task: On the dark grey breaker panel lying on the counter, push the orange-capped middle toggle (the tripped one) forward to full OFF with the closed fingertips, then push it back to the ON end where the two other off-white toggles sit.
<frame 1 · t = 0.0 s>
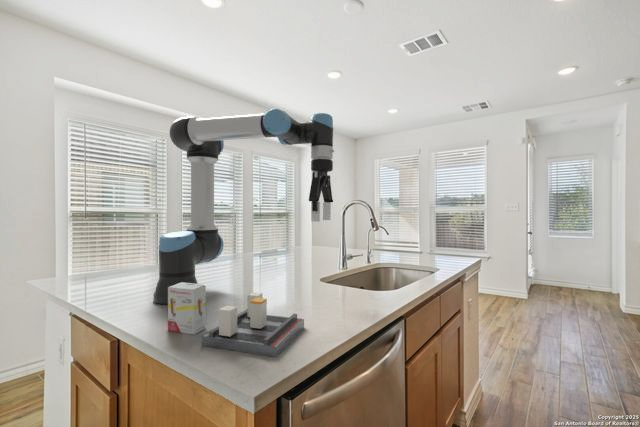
hand: (321, 220, 111), 28 cm above the worktop, fingers open, 13 cm apart
breaker c: (255, 304, 87), point 6 cm above the worktop, slide at 0.0 cm
breaker a: (228, 320, 75), point 6 cm above the worktop, slide at 0.0 cm
panel: (256, 335, 80), on the worktop
ink box: (186, 330, 84), on the worktop
breaker b: (258, 312, 80), point 6 cm above the worktop, slide at 4.5 cm
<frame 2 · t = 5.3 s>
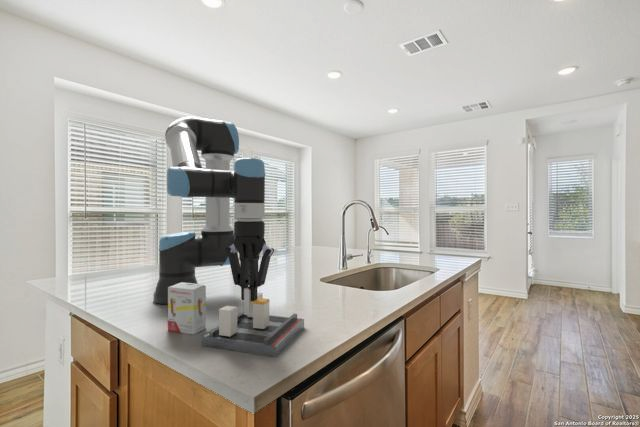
hand: (249, 313, 80), 6 cm above the worktop, fingers closed
breaker b: (261, 313, 80), point 6 cm above the worktop, slide at 5.3 cm, touching gripper
everything else where it was.
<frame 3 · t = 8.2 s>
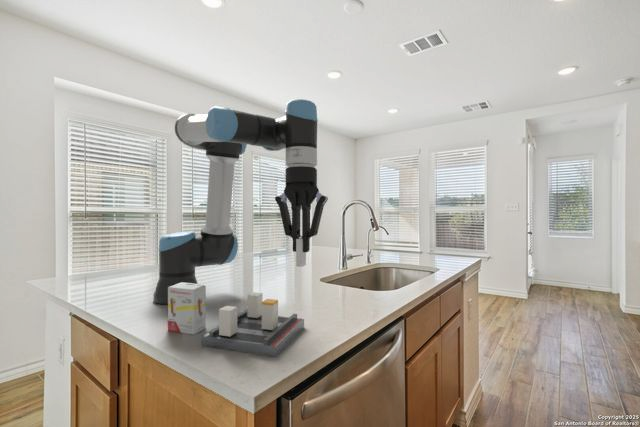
hand: (301, 265, 76), 19 cm above the worktop, fingers closed
breaker b: (269, 314, 79), point 6 cm above the worktop, slide at 7.7 cm
everything else where it was.
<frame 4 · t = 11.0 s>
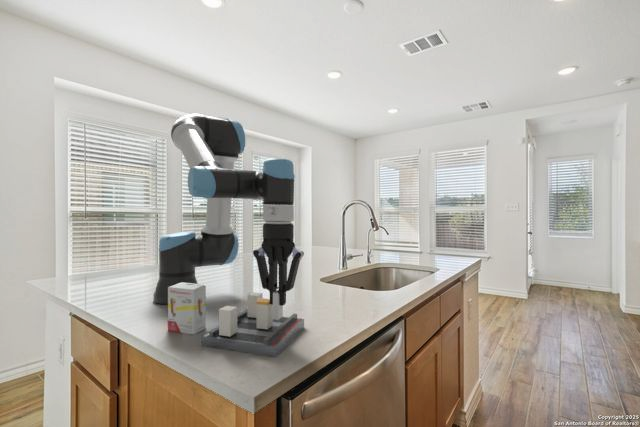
hand: (277, 317, 78), 5 cm above the worktop, fingers closed
breaker b: (264, 313, 79), point 6 cm above the worktop, slide at 6.2 cm, touching gripper
everything else where it was.
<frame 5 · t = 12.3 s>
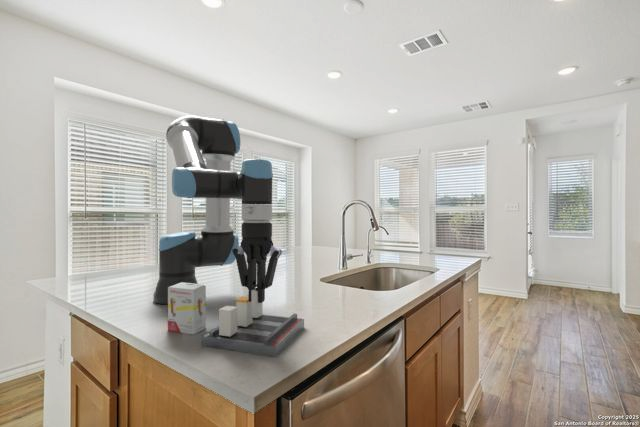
hand: (256, 314, 80), 5 cm above the worktop, fingers closed
breaker b: (244, 311, 81), point 6 cm above the worktop, slide at 0.5 cm, touching gripper
everything else where it was.
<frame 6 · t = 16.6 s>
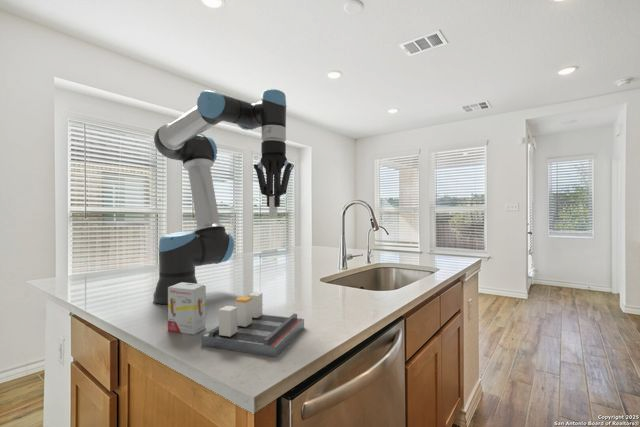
hand: (273, 217, 99), 29 cm above the worktop, fingers closed
breaker b: (243, 311, 81), point 6 cm above the worktop, slide at 0.3 cm
everything else where it was.
at the end: breaker b slide at 0.3 cm; breaker a slide at 0.0 cm; breaker c slide at 0.0 cm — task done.
